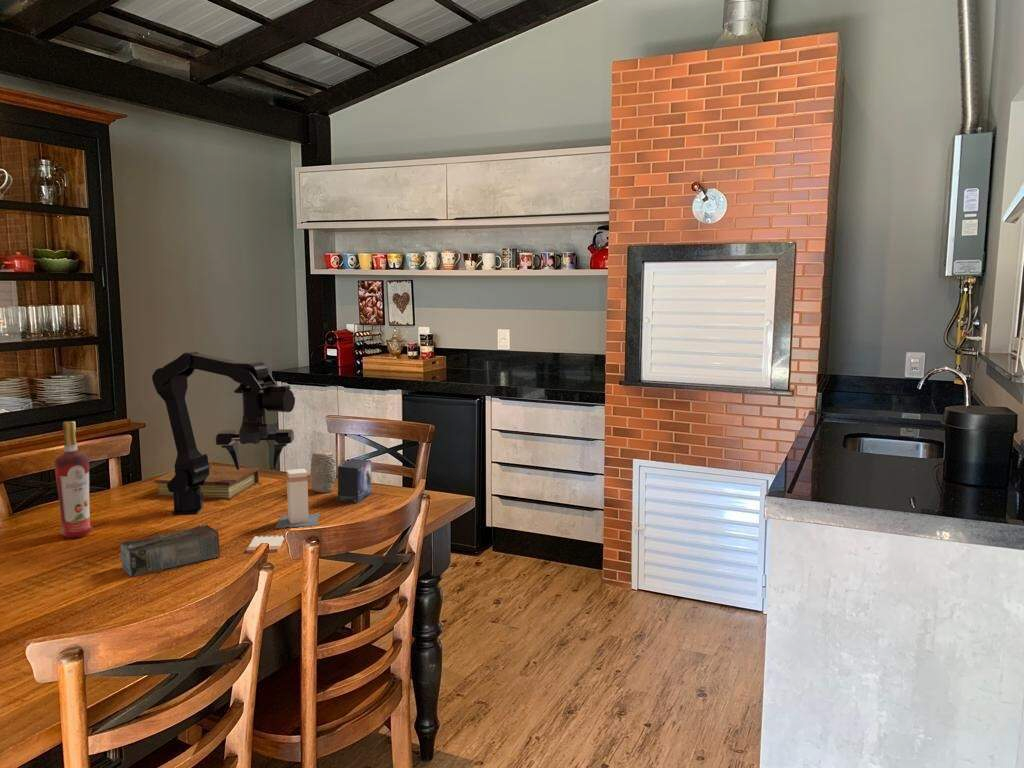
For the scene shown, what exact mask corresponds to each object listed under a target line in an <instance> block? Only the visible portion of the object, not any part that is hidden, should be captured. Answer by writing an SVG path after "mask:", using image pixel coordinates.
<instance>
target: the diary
mask: <svg viewBox="0 0 1024 768" xmlns="http://www.w3.org/2000/svg"><path fill="white" fill-rule="evenodd" d="M210 467H211V468H209V475H208V477H207V478H206V480H205V483H204V485H203V486H200V489H201V492H202V493H203V500H221V499H231V500H233V499H234V498H233V497H235V496H236V497H238V496H240V495H241V494H240V493H242V492H243V493H245V492H247V491H248V490H247V489H249V488H250V489H252V488H253V487H252V486H254V485H256V484H257V485H259V484H260V470H259V467H249V466H247V467H246V466H245V467H244V466H240V469H239V470H237V468H236V466H217V465H216V466H213V465H210ZM174 476H175V470H173V471H171V472H169V473H167V474H164V475H161V476H159V477H158V478H155V479H153V480H154V481H153V483H155V484H157V494H155V495H154V498H171V497H172V498H173V499H174V497H173V492H169V490H168V487H167V484H168V483H169V482H170V481H171V479H172V478H173V477H174ZM258 483H259V484H258ZM257 485H256V486H257ZM251 487H252V488H251ZM254 487H255V486H254ZM250 489H249V490H250ZM246 490H247V491H246ZM244 491H245V492H244ZM243 493H242V494H243ZM239 494H240V495H239ZM237 495H238V496H237ZM236 497H235V498H236ZM232 498H233V499H232Z"/></svg>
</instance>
